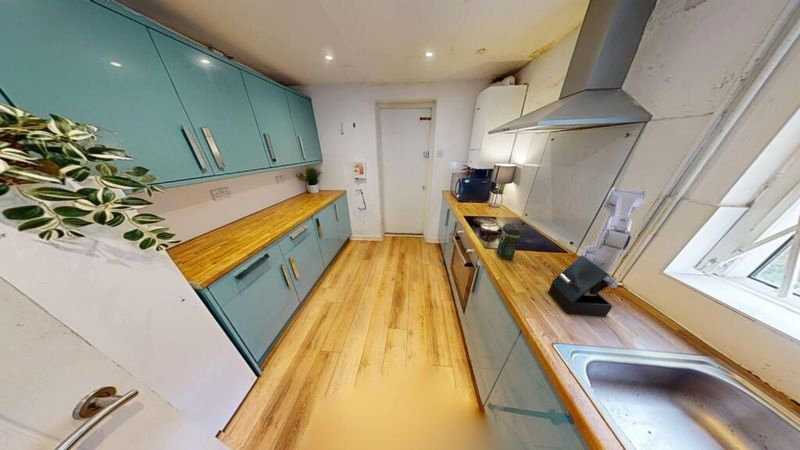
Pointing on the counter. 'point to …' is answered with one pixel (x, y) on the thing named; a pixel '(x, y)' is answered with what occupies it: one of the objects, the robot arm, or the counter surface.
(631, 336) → the counter surface
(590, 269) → the caddy lid
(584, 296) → the block
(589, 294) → the scrap block
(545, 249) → the counter surface
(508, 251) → the coffee jar
